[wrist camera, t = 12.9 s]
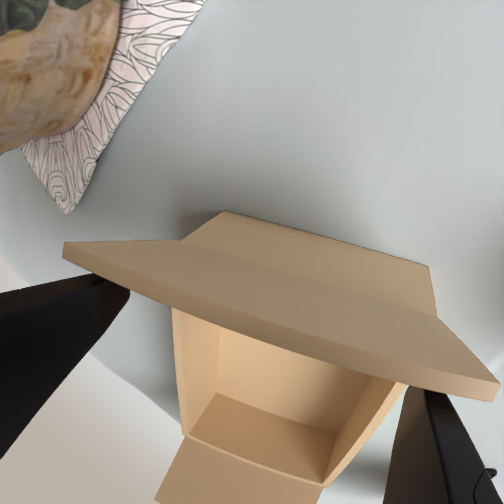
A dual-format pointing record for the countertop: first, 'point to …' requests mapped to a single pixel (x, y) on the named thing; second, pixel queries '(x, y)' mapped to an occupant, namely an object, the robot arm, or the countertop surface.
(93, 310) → the robot arm
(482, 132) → the countertop surface
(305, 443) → the carton
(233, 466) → the far flap
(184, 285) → the near flap
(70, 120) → the cookie jar
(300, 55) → the countertop surface
